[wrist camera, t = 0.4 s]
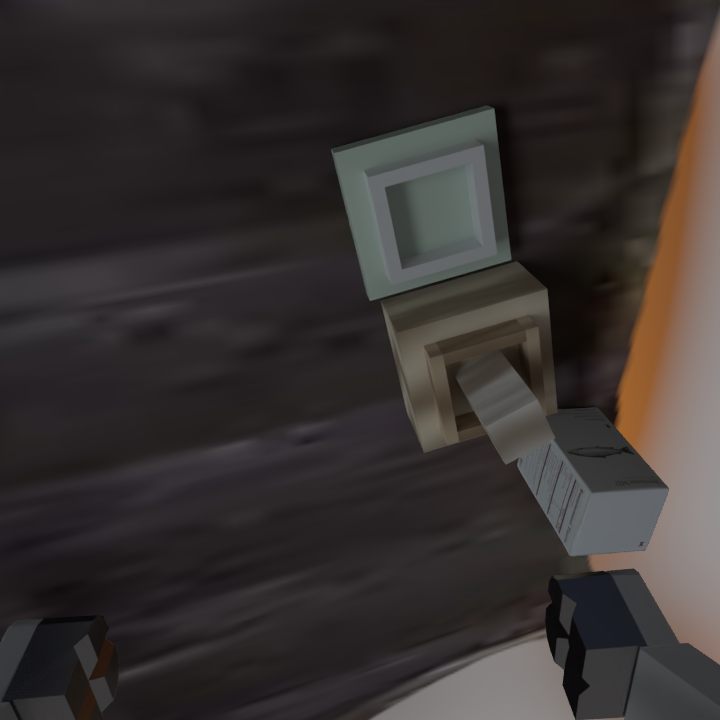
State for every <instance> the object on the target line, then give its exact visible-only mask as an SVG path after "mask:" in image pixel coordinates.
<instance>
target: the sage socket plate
mask: <svg viewBox="0 0 720 720" xmlns="http://www.w3.org/2000/svg"><path fill="white" fill-rule="evenodd" d="M331 151H332V155H333V159H334V163H335V167H336V171H337V175H338V179H339V183H340V187H341V191H342V195H343V199H344V203H345V207H346V212H347V216H348V220H349V224H350V228H351V232H352V236H353V240H354V244H355V248H356V252H357V256H358V260H359V264H360V268H361V272H362V276H363V280H364V284H365V289H366V293H367V295H368V297H369V299H370V301H371V300H375V299H378V298H382V297H385V296H389V295H392V294H396V293H399V292H402V291H406V290H409V289H413V288H416V287H420V286H423V285H427V284H430V283H433V282H437V281H440V280H444V279H447V278H451V277H454V276H458V275H461V274H465V273H468V272H471V271H475V270H478V269H482V268H485V267H489V266H492V265H496V264H499V263H502V262H506V261H509V260H511V252H510V244H509V235H508V226H507V217H506V208H505V199H504V190H503V182H502V173H501V164H500V155H499V146H498V137H497V129H496V120H495V111H494V108H492V107H490V106H487V105H486V106H483V107H479V108H476V109H472V110H469V111H465V112H461V113H458V114H454V115H451V116H447V117H444V118H440V119H436V120H433V121H429V122H426V123H422V124H419V125H415V126H411V127H408V128H404V129H401V130H397V131H394V132H390V133H387V134H383V135H379V136H376V137H372V138H369V139H365V140H362V141H358V142H354V143H351V144H347V145H344V146H340V147H337V148H333V149H331Z"/></svg>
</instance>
